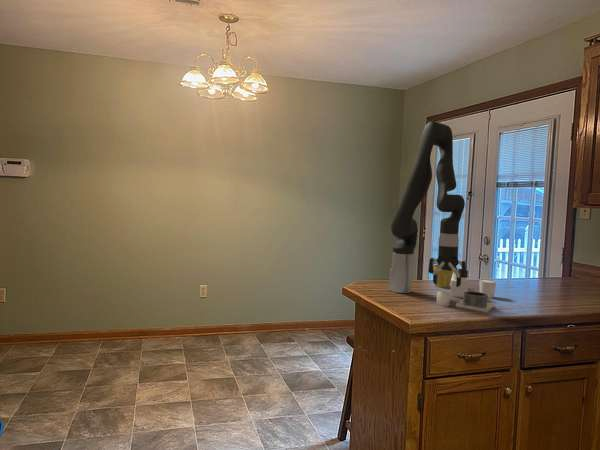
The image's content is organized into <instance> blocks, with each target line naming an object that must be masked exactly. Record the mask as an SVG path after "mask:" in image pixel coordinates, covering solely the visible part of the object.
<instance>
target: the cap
mask: <svg viewBox="0 0 600 450" xmlns="http://www.w3.org/2000/svg"><path fill="white" fill-rule="evenodd" d="M450 301H451V296H450V292H449V291H446V290H445V291H444V290H443V291H442V290H438V291H436V306H439V305H440V307H450V304H451V302H450Z"/></svg>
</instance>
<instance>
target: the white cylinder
mask: <svg viewBox="0 0 600 450" xmlns="http://www.w3.org/2000/svg"><path fill="white" fill-rule="evenodd" d="M478 283H479V285H478V286H479V292H481V293H485V294H487V295H488V299H493V298H494V296H495V295H494V294H495V289H496V284H497V282H496V281H493V280H489V279H479V282H478Z"/></svg>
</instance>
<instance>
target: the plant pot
mask: <svg viewBox="0 0 600 450" xmlns="http://www.w3.org/2000/svg"><path fill="white" fill-rule="evenodd" d="M438 266H439V265H438V264H434V266H433V270H434V271H435V270H436V268H437V267H438ZM437 275H438V281H437V284H434V286H435V287H438V288H450V287H451V279H452V278H453V270H452V271H448V270H442V269H441V270H440V271H439V272H438V273H437Z"/></svg>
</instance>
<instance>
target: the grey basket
mask: <svg viewBox="0 0 600 450" xmlns="http://www.w3.org/2000/svg"><path fill="white" fill-rule="evenodd" d="M488 299H489V298H488V295H487V294H485V293H481V292H480V291H474V290H473V291H472V290H468V291H467V292H464V298H462V299H461V300H459V301H457V302H456V303H455V307H456V308H461V309H465V310H472V311H477V312H482V313H484V312H485V313H489V312H490V311H491V310H492V309H493V308H494V307H495V303H492V302H488Z"/></svg>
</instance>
